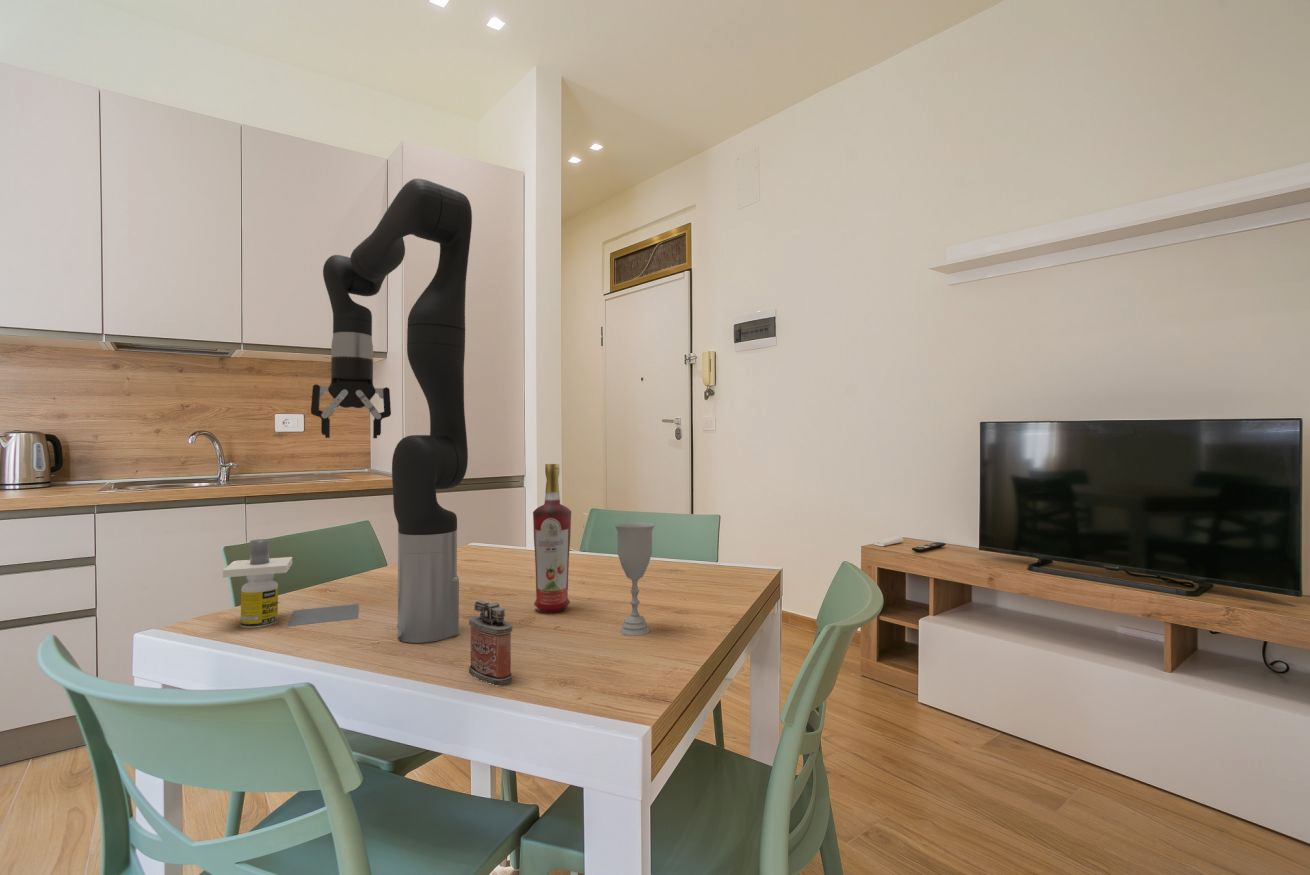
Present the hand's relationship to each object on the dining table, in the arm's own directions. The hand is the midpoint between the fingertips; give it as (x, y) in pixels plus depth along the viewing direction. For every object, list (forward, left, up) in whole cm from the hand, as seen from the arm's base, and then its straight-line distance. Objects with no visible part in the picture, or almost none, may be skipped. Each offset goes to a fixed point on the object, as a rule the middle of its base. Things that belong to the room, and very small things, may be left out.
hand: (351, 438), depth 120 cm
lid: (+14, +10, -23) cm, 29 cm away
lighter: (-18, +51, -33) cm, 64 cm away
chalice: (-44, +41, -33) cm, 69 cm away
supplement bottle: (+14, +10, -33) cm, 37 cm away
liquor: (-35, +22, -33) cm, 53 cm away
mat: (+4, +9, -33) cm, 35 cm away
